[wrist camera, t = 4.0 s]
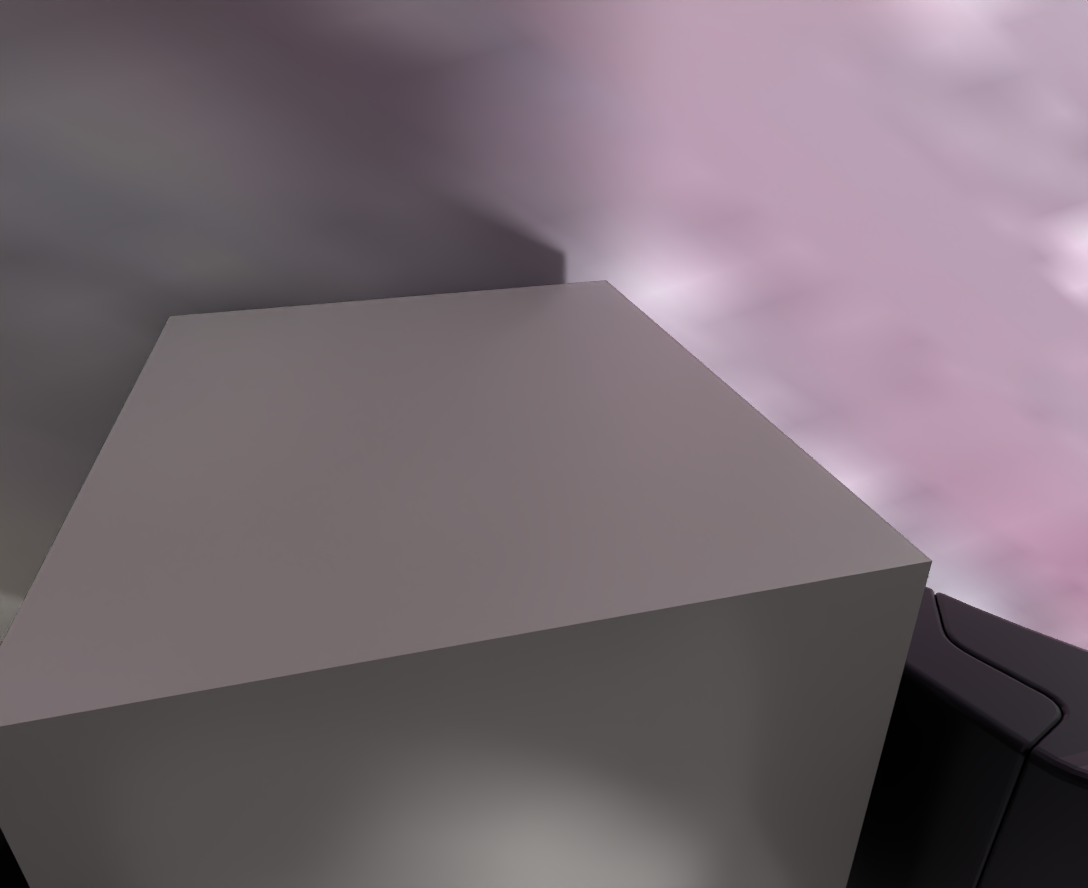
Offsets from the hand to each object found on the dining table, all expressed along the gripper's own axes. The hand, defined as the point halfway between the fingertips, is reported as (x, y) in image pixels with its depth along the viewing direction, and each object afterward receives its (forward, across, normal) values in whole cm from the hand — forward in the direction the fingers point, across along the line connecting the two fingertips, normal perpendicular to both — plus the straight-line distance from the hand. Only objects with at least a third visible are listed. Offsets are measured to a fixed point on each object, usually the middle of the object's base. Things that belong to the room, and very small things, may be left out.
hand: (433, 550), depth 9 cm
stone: (+2, 0, 0) cm, 2 cm away
